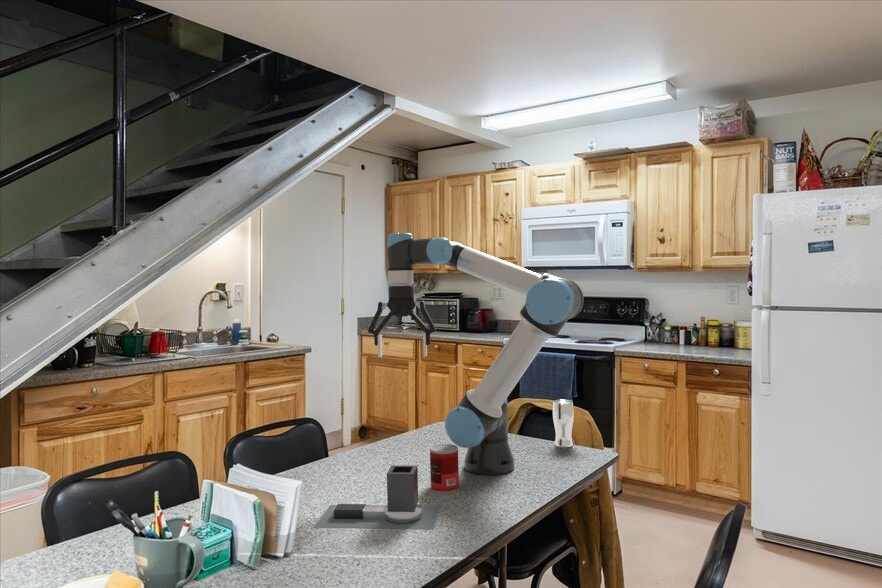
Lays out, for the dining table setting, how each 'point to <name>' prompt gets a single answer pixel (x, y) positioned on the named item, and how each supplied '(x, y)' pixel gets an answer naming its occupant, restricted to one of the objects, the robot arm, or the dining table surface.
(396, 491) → the open square tube
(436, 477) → the canned food
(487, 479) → the dining table surface
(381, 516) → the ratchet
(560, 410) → the beer glass
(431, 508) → the mat
